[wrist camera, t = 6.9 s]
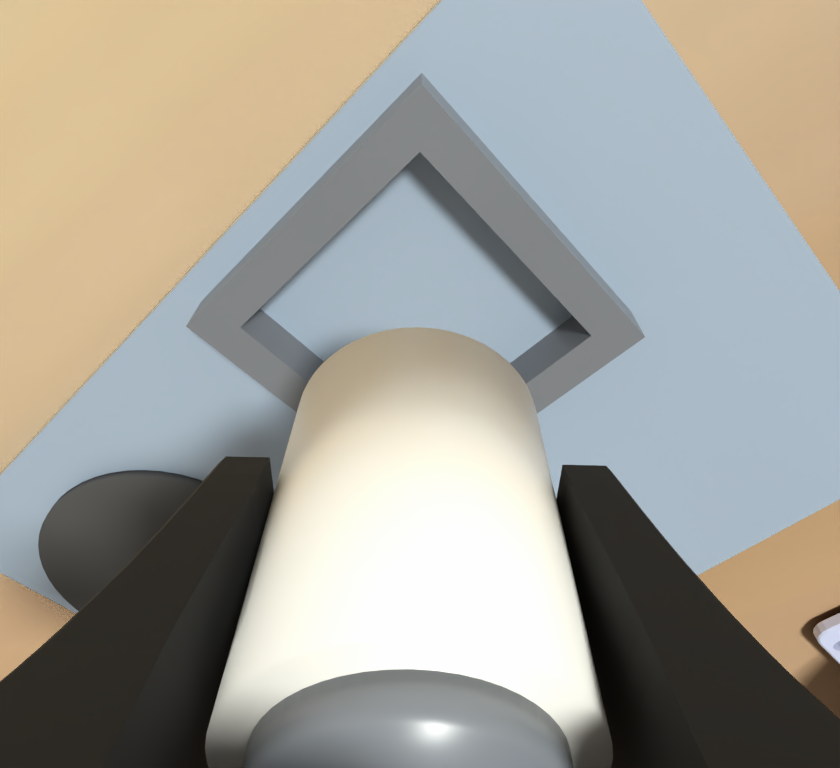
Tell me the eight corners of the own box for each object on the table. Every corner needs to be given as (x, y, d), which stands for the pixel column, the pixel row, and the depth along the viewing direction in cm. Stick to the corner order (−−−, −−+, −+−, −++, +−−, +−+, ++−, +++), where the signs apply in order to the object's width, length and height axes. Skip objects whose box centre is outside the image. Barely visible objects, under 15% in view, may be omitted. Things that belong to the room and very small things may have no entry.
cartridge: (551, 331, 10) (670, 702, 5) (523, 523, 12) (588, 916, 7) (286, 323, 10) (151, 688, 5) (305, 518, 12) (221, 908, 7)
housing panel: (928, 429, 18) (1031, 529, 15) (351, 745, 26) (342, 849, 23) (551, -122, 12) (595, -142, 9) (-48, 525, 20) (-133, 629, 17)
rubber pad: (338, 566, 20) (337, 573, 20) (195, 666, 23) (192, 674, 22) (133, 425, 17) (128, 432, 17) (-3, 558, 20) (-8, 566, 20)
